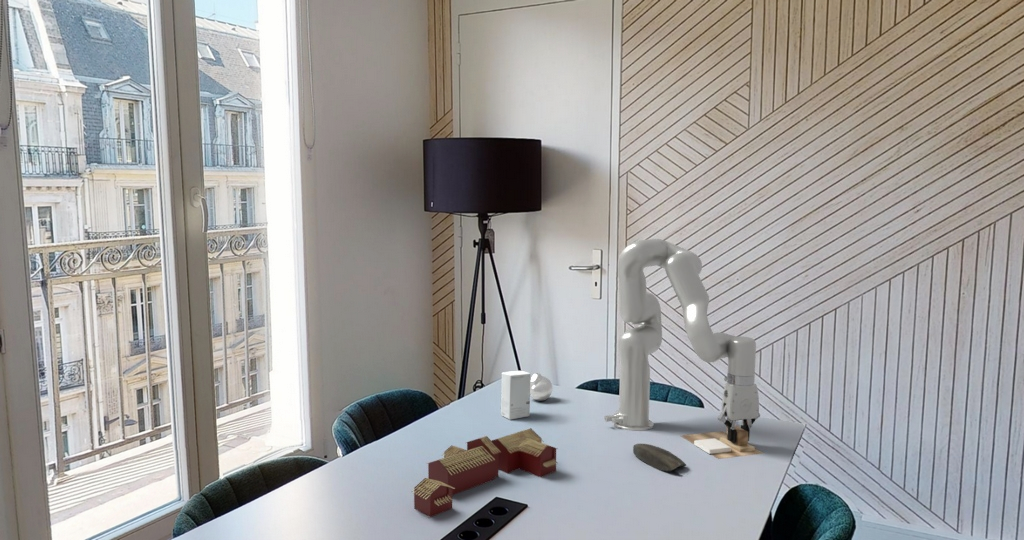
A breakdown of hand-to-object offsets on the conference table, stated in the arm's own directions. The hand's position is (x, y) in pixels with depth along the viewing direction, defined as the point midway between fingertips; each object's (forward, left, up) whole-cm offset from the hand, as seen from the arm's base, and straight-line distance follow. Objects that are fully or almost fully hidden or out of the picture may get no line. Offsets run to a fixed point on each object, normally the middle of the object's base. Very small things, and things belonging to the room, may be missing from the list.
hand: (738, 440), depth 209 cm
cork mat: (-4, +3, -2) cm, 6 cm away
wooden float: (0, 0, -2) cm, 2 cm away
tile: (-8, +4, -1) cm, 10 cm away
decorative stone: (-29, -4, -3) cm, 29 cm away
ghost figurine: (-39, +63, -3) cm, 74 cm away
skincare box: (-53, +48, -3) cm, 72 cm away
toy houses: (-79, -2, -3) cm, 79 cm away
